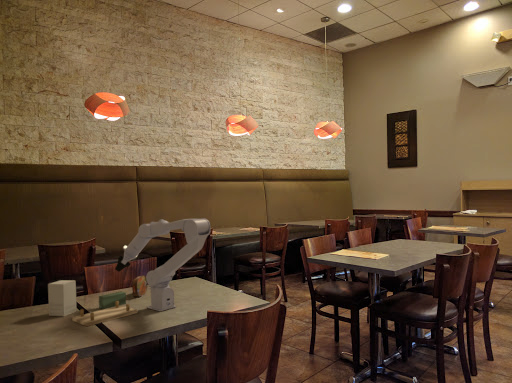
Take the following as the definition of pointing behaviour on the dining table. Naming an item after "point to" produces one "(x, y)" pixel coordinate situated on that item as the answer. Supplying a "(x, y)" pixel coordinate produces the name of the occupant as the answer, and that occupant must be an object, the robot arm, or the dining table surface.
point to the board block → (112, 299)
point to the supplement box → (62, 297)
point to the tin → (139, 286)
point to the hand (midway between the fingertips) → (120, 265)
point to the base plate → (104, 314)
